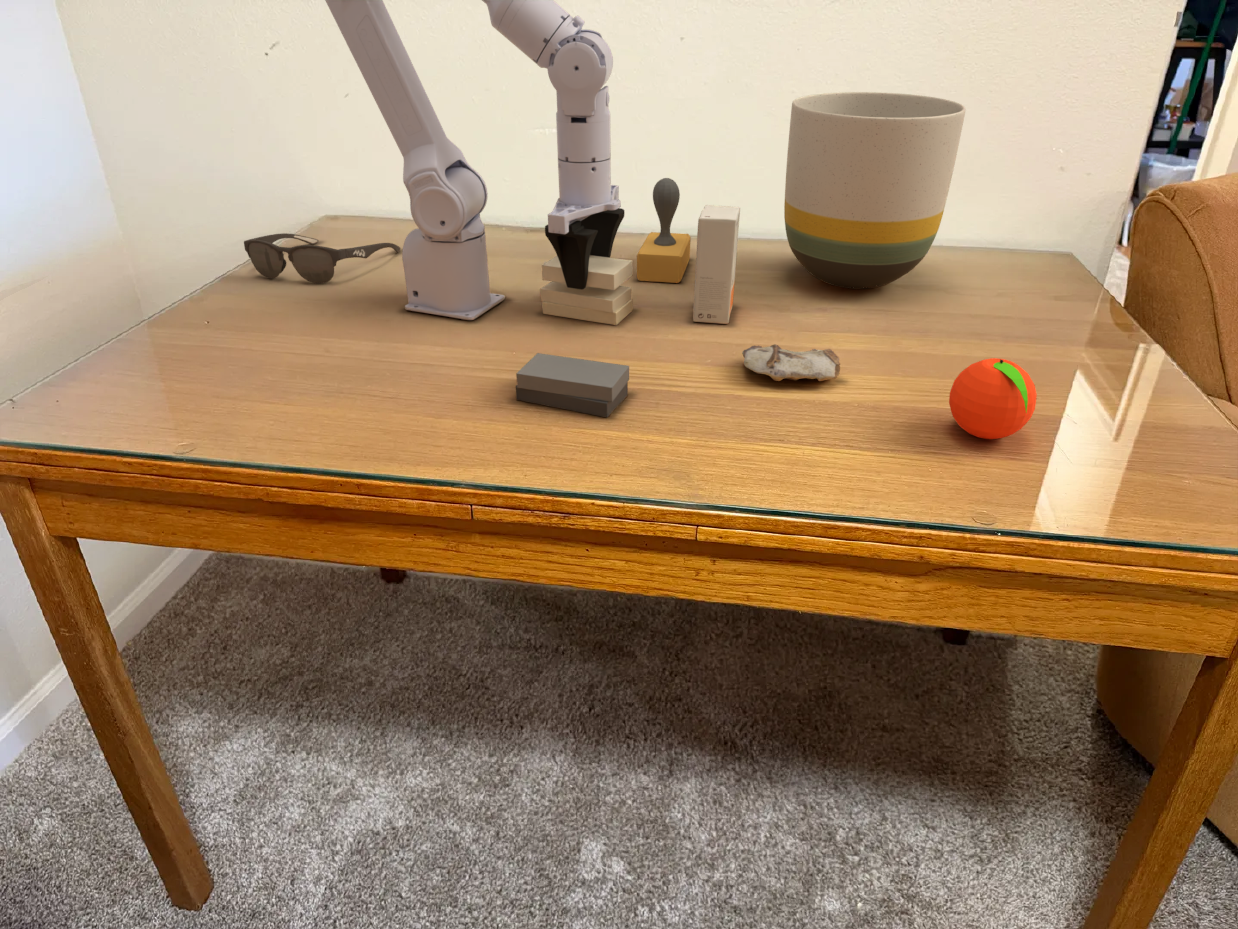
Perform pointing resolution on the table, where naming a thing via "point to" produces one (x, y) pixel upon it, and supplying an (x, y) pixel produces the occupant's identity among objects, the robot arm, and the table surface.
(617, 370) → the grey books
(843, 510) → the table surface
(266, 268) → the sunglasses
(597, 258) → the cream rectangular block
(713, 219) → the cosmetic box
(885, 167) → the planter
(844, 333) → the table surface
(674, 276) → the rubber stamp
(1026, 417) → the clementine
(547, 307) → the white books
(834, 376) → the stone
